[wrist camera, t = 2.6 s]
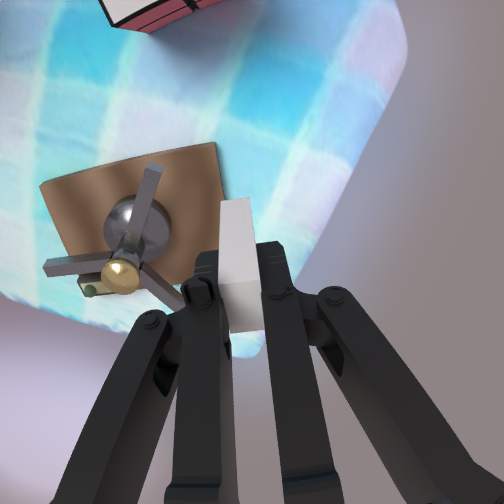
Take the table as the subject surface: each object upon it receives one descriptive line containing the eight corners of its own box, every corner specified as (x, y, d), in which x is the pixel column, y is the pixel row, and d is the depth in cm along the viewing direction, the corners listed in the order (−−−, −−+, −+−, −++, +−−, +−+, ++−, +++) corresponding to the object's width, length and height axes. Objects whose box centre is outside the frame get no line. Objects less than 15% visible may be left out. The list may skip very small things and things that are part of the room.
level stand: (91, 288, 40) (83, 309, 37) (43, 181, 30) (27, 197, 27) (237, 270, 40) (239, 291, 36) (214, 141, 30) (213, 154, 27)
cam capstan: (197, 292, 39) (193, 342, 33) (59, 247, 34) (33, 290, 28) (251, 182, 31) (258, 222, 25) (80, 122, 26) (42, 148, 20)
